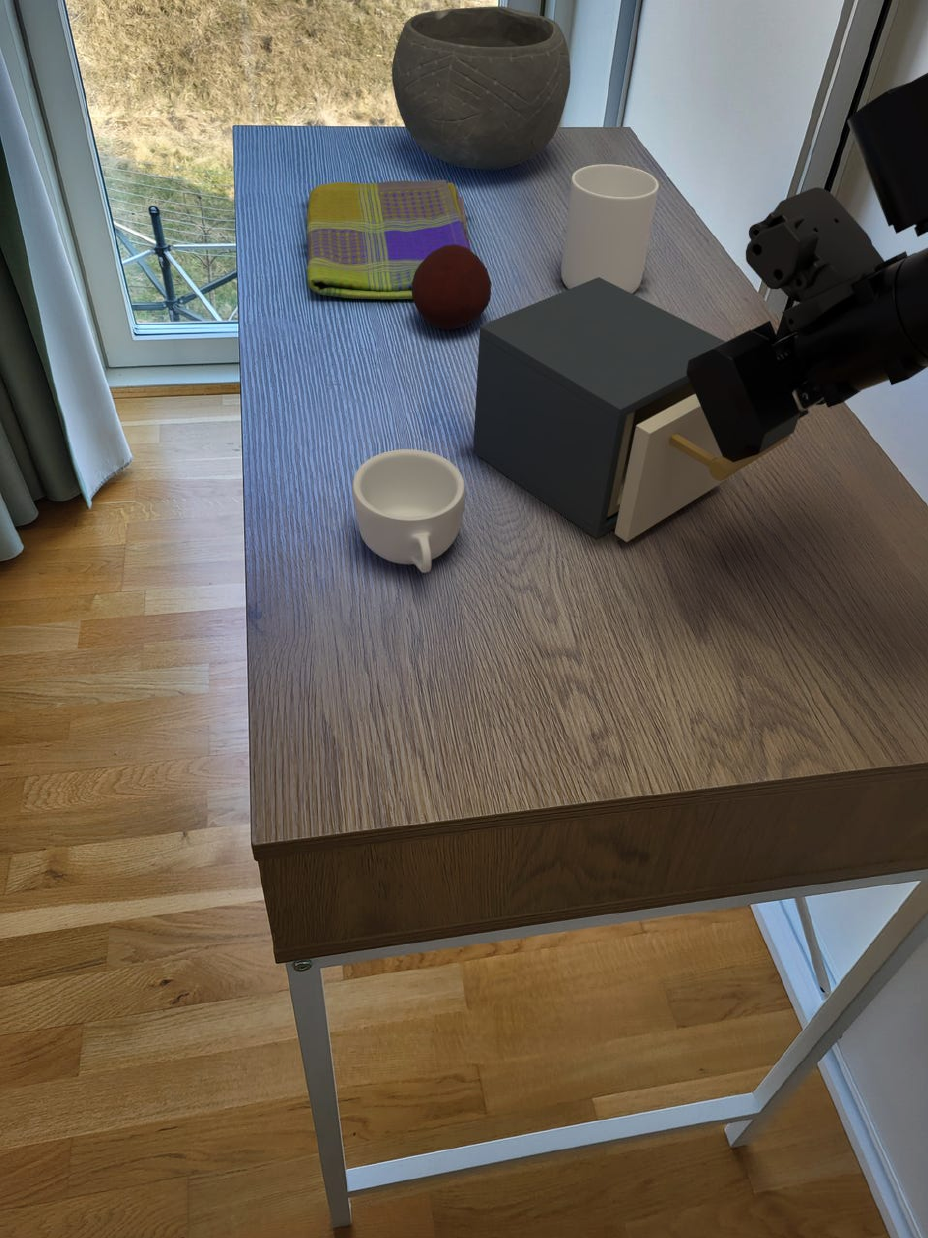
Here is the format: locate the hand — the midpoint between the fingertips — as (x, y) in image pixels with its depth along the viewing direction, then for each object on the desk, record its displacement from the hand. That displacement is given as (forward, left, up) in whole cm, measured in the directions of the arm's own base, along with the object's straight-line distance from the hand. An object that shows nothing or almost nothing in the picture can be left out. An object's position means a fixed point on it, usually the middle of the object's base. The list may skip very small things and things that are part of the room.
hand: (713, 397), depth 63 cm
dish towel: (+30, -41, -11) cm, 52 cm away
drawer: (+3, -3, -10) cm, 11 cm away
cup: (+6, -39, -11) cm, 41 cm away
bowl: (+24, -67, -11) cm, 72 cm away
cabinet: (+7, -6, -11) cm, 15 cm away
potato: (+21, -26, -11) cm, 36 cm away
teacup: (+19, +7, -11) cm, 23 cm away
